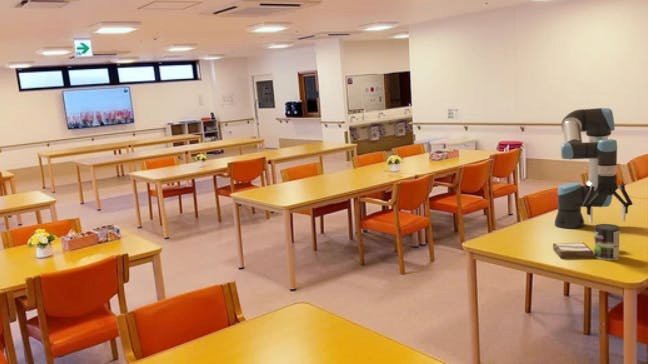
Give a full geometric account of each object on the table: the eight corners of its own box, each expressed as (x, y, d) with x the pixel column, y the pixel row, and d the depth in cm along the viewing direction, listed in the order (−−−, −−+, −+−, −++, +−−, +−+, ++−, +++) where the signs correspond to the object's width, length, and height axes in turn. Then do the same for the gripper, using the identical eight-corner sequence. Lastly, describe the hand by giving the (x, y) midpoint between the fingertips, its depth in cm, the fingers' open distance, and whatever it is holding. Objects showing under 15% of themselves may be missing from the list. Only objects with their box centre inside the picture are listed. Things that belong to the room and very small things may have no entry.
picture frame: (553, 249, 265) (553, 243, 264) (583, 248, 262) (583, 242, 262) (560, 258, 251) (560, 251, 250) (593, 257, 249) (593, 250, 248)
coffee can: (602, 261, 243) (602, 230, 241) (589, 254, 253) (589, 225, 251) (624, 259, 244) (625, 228, 242) (610, 252, 254) (611, 222, 252)
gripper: (579, 177, 241) (579, 224, 244) (641, 174, 237) (640, 222, 240) (574, 174, 248) (575, 220, 251) (634, 171, 244) (633, 218, 247)
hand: (606, 221), depth 246 cm, fingers open, 13 cm apart
